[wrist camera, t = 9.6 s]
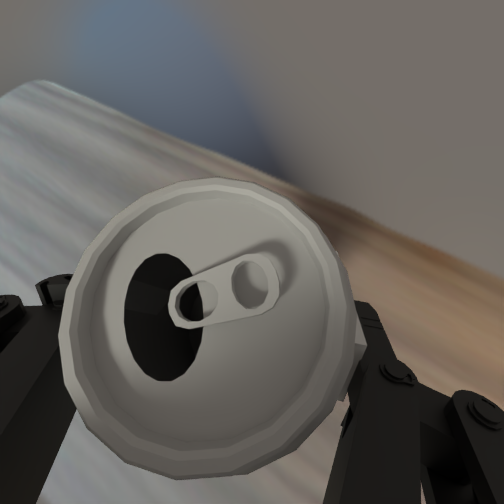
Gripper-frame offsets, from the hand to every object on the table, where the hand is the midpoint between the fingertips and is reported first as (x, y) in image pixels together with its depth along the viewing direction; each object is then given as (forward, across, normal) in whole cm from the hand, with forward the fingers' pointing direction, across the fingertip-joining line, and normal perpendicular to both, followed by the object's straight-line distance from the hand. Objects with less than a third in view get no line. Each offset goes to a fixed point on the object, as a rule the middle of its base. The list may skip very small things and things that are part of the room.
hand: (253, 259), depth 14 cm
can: (0, 0, -5) cm, 5 cm away
